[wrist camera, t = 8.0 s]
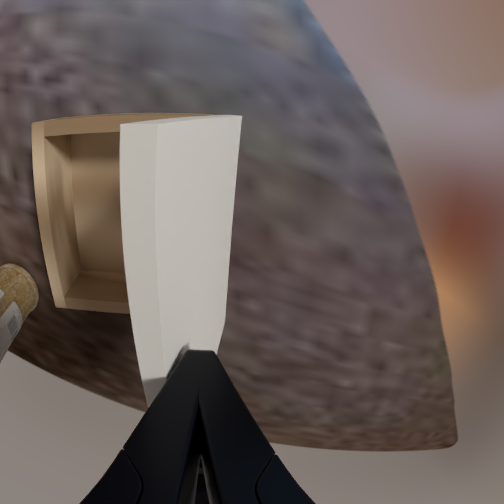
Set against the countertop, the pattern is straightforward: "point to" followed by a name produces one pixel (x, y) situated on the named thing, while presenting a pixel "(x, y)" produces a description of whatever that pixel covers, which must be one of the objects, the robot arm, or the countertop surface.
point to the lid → (177, 235)
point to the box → (83, 207)
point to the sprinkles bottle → (14, 302)
